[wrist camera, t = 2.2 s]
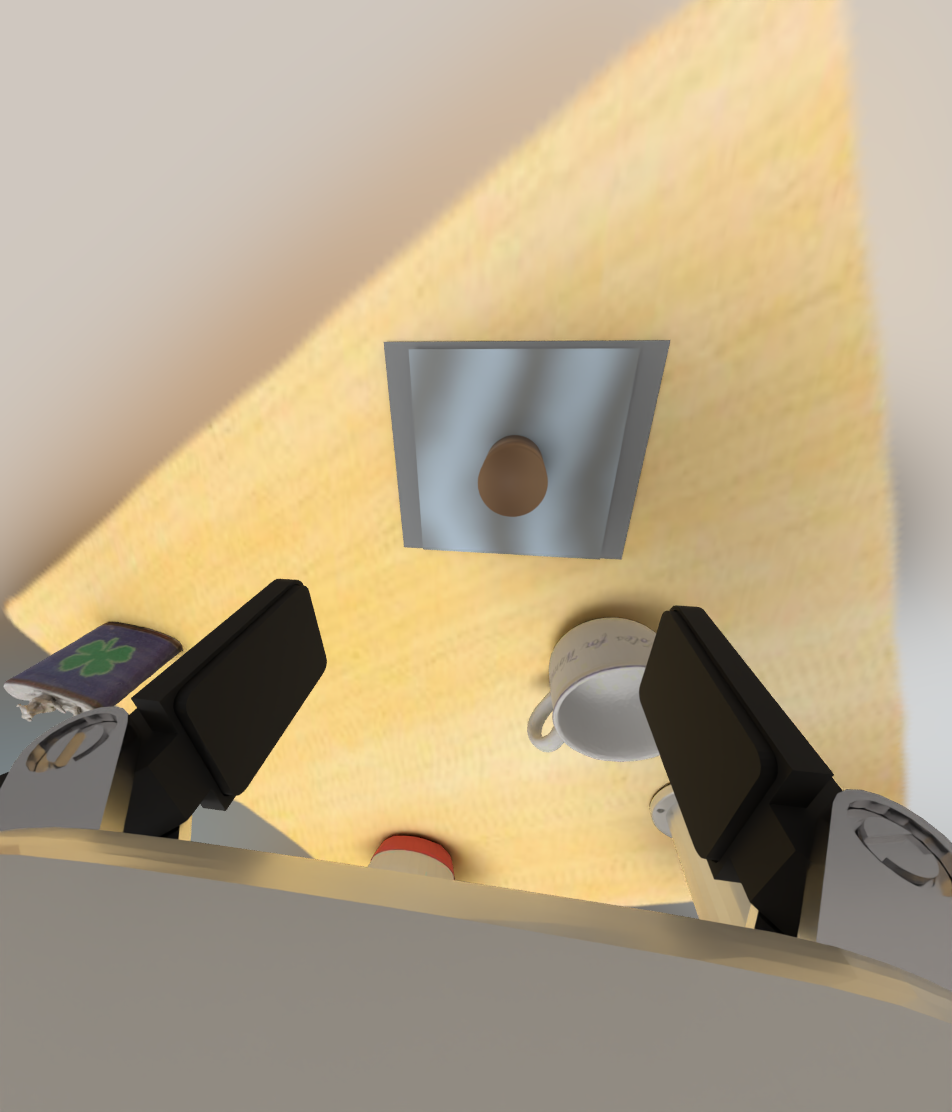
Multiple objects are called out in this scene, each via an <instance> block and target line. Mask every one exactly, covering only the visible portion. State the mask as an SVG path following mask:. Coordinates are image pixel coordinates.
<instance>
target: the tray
mask: <svg viewBox="0 0 952 1112" xmlns="http://www.w3.org/2000/svg"><path fill="white" fill-rule="evenodd" d="M669 344H670V340H645V341H472V342H384V350H385V360H386V370H387V380H388V390H389V400H390V410H391V420H392V430H393V440H394V450H395V460H396V470H397V480H398V490H399V500H400V510H401V520H402V530H403V540H404V547H411V548H423V542H422V528H421V514H420V500H419V487H418V473H417V459H416V445H415V431H414V417H413V404H412V390H411V376H410V362H409V349H618V348H640V352H639V357H638V363H637V368H636V373H635V378H634V384H633V389H632V394H631V399H630V404H629V410H628V415H627V420H626V425H625V431H624V436H623V441H622V446H621V451H620V457H619V462H618V467H617V472H616V478H615V483H614V488H613V493H612V498H611V504H610V509H609V514H608V519H607V525H606V530H605V535H604V540H603V546H602V551H601V556H600V558H605V559H622V554H623V550H624V545H625V541H626V537H627V532H628V528H629V523H630V519H631V514H632V510H633V505H634V501H635V496H636V492H637V487H638V483H639V478H640V474H641V469H642V465H643V460H644V456H645V452H646V447H647V443H648V438H649V434H650V429H651V425H652V420H653V416H654V411H655V407H656V402H657V398H658V393H659V389H660V384H661V380H662V375H663V371H664V367H665V362H666V358H667V353H668V349H669Z"/></svg>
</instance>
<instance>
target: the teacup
mask: <svg viewBox="0 0 952 1112" xmlns="http://www.w3.org/2000/svg"><path fill="white" fill-rule="evenodd" d="M655 636H656V633H655V632H654V631H653V630H651V629H649V628H648V627H646V626H645V625H643V624H640V623H638V622H635V621H632V620H628V619H623V618H601V619H595V620H591V621H588V622H585V623H583V624H580V625H578V626H576V627H575V628H573V629H571V630H570V631H569V632H567V633H566V634H565V635H564V636H563V637H562V638H561V639H560V640H559V641H558V643H557V644H556V646H555V648H554V650H553V652H552V654H551V658H550V663H549V682H550V692H549V693H548V694H547V695H546V696H545V697H544V699H543V700H542V701H541V702H540V703H539V704H538V705H537V707H536V708H535V709H534V711H533V712H532V714H531V716H530V718H529V721H528V727H527V732H528V736H529V739H530V741H531V742H532V744H533V745H534V746H535V747H536V748H538V749H539V750H541V751H543V752H552V751H555V750H556V749H558V748H559V747H561V745H562V744H563V743H566V744H567V745H568V746H569V747H570V748H572V749H573V750H575V751H577V752H579V753H582V754H584V755H586V756H589V757H591V758H594V759H598V760H604V761H617V762H624V761H637V760H643V759H648V758H653V757H656V756H659V755H660V754H659V751H658V749H657V746H656V743H655V741H654V738H653V735H652V732H651V730H650V727H649V724H648V722H647V719H646V716H645V714H644V711H643V708H642V706H641V703H640V699H639V687H640V684H641V680H642V677H643V674H644V671H645V668H646V665H647V661H648V658H649V655H650V652H651V649H652V646H653V643H654V639H655ZM552 711H553V717H552V718H553V724H554V727H553V729H552V730H551V732H550V733H549V734H548V735H546V736H544V737H542V735H541V731H542V726H543V724H544V722H545V720H546V719H547V717H548V716H549V714H550V713H551V712H552Z"/></svg>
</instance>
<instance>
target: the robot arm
mask: <svg viewBox="0 0 952 1112" xmlns="http://www.w3.org/2000/svg"><path fill="white" fill-rule="evenodd" d="M326 664H327V659H326V654H325V651H324V647H323V643H322V639H321V635H320V631H319V628H318V624H317V620H316V616H315V612H314V608H313V605H312V601H311V597H310V593H309V590H308V588H307V587H306V586H304V585H303V583H302V582H301V581H299V580H290V579H276V580H274V581H273V582H271V583H270V584H269V585H268V586H267V587H265V588H264V589H263V590H262V591H260V592H259V593H258V594H257V595H256V596H254V597H253V598H252V599H251V600H250V601H248V602H247V603H246V604H245V605H243V606H242V607H241V608H240V609H239V610H237V611H236V612H235V613H234V614H233V615H231V616H230V617H229V618H228V619H226V620H225V621H224V622H223V623H222V624H220V625H219V626H218V627H217V628H216V629H214V630H213V631H212V632H211V633H209V634H208V635H207V636H206V637H205V638H203V639H202V640H201V641H200V642H199V643H197V644H196V645H195V646H194V647H192V648H191V649H190V650H189V651H188V652H186V653H185V654H184V655H183V656H182V657H180V658H179V659H178V660H177V661H175V662H174V663H173V664H172V665H171V666H169V667H168V668H167V669H166V670H165V671H163V672H162V673H161V674H160V675H158V676H157V677H156V678H155V679H154V680H152V681H151V682H150V683H149V684H148V685H146V686H145V687H144V688H143V689H141V690H140V691H139V692H138V693H137V694H135V695H134V696H133V697H132V698H131V699H132V701H133V702H134V704H135V705H136V707H137V709H135V710H134V711H133V712H132V713H131V714H130V715H129V714H128V713H127V712H126V711H125V710H124V709H123V708H119V707H115V706H111V707H100V708H97V709H93V710H89V711H86V712H83V713H81V714H78V715H76V716H73V717H71V718H69V719H67V720H65V721H63V722H61V723H59V724H58V725H56V726H54V727H52V728H51V729H49V730H48V731H46V732H45V733H43V734H42V735H41V736H39V737H38V738H36V739H35V740H34V741H33V742H32V743H31V744H30V745H28V746H27V747H26V748H25V749H24V750H23V751H22V753H21V754H20V755H19V757H18V758H17V760H16V761H15V762H14V764H13V766H12V768H11V769H10V771H9V772H7V773H5V774H2V775H0V1112H952V843H951V842H950V841H949V840H948V839H947V838H946V837H945V836H944V835H943V834H942V833H941V832H939V831H938V830H937V829H935V828H934V827H933V826H932V825H930V824H929V823H928V822H927V821H925V820H924V819H923V818H921V817H919V816H918V815H916V814H915V813H913V812H912V811H910V810H908V809H907V808H905V807H904V806H902V805H900V804H898V803H896V802H894V801H892V800H889V799H887V798H885V797H883V796H881V795H878V794H874V793H871V792H867V791H864V790H851V789H847V790H845V791H842V790H841V788H840V787H839V786H838V784H837V783H836V782H835V781H834V779H833V778H832V776H833V775H834V774H833V773H832V771H831V770H830V769H829V768H828V766H827V765H826V764H825V763H824V761H823V760H822V759H821V758H820V756H819V755H818V754H817V752H816V751H815V750H814V749H813V747H812V746H811V745H810V744H809V742H808V741H807V740H806V739H805V737H804V736H803V735H802V734H801V732H800V731H799V730H798V728H797V727H796V726H795V725H794V723H793V722H792V721H791V720H790V718H789V717H788V716H787V715H786V713H785V712H784V711H783V710H782V708H781V707H780V706H779V704H778V703H777V702H776V701H775V699H774V698H773V697H772V696H771V694H770V693H769V692H768V691H767V689H766V688H765V687H764V686H763V684H762V683H761V682H760V680H759V679H758V678H757V677H756V675H755V674H754V673H753V672H752V670H751V669H750V668H749V667H748V665H747V664H746V663H745V662H744V660H743V659H742V658H741V657H740V655H739V654H738V653H737V651H736V650H735V649H734V648H733V646H732V645H731V644H730V643H729V641H728V640H727V639H726V638H725V636H724V635H723V634H722V633H721V631H720V630H719V629H718V627H717V626H716V625H715V624H714V622H713V621H712V620H711V619H710V617H709V616H708V615H707V614H706V612H705V611H704V610H703V609H702V608H700V607H690V606H673V607H672V608H671V609H670V611H665V612H664V613H663V615H662V617H661V620H660V624H659V627H658V630H657V633H656V636H655V639H654V643H653V646H652V649H651V652H650V655H649V658H648V661H647V665H646V668H645V671H644V674H643V677H642V680H641V684H640V687H639V699H640V703H641V706H642V708H643V711H644V714H645V716H646V719H647V722H648V724H649V727H650V730H651V732H652V735H653V738H654V741H655V743H656V746H657V749H658V751H659V754H660V757H661V759H662V762H663V765H664V767H665V770H666V773H667V776H668V778H669V781H670V785H668V786H666V787H664V788H663V789H662V790H660V791H659V792H658V793H657V794H656V795H655V796H654V797H653V799H652V801H651V803H650V813H651V817H652V820H653V822H654V824H655V826H656V827H657V828H658V829H659V830H660V831H661V832H662V833H664V834H665V835H667V836H669V837H671V838H673V841H674V845H675V848H676V851H677V854H678V857H679V860H680V863H681V866H682V869H683V872H684V875H685V878H686V881H687V884H688V887H689V890H690V893H691V896H692V899H693V902H694V905H695V908H696V911H697V914H698V917H699V919H695V918H690V917H684V916H678V915H673V914H667V913H661V912H655V911H649V910H642V909H636V908H630V907H623V906H617V905H611V904H604V903H598V902H591V901H585V900H579V899H572V898H566V897H559V896H553V895H547V894H540V893H534V892H527V891H521V890H515V889H508V888H502V887H496V886H489V885H482V884H476V883H469V882H463V881H456V880H449V879H443V878H436V877H430V876H423V875H416V874H410V873H403V872H397V871H390V870H383V869H377V868H370V867H363V866H357V865H350V864H343V863H337V862H330V861H323V860H317V859H310V858H303V857H296V856H289V855H282V854H275V853H268V852H261V851H255V850H247V849H241V848H233V847H227V846H220V845H212V844H206V843H199V842H192V841H190V840H191V823H192V814H193V813H194V811H195V810H196V809H197V807H198V806H199V804H201V806H202V807H203V808H208V809H215V810H223V811H226V810H227V808H228V807H229V805H230V804H231V802H232V801H233V799H234V798H235V796H238V795H240V794H241V793H242V792H244V791H245V789H246V788H247V787H248V785H249V784H250V782H251V781H252V779H253V778H254V776H255V775H256V773H257V772H258V770H259V769H260V767H261V766H262V764H263V763H264V761H265V760H266V758H267V757H268V755H269V754H270V752H271V751H272V749H273V748H274V746H275V745H276V743H277V742H278V740H279V739H280V737H281V736H282V734H283V733H284V731H285V730H286V728H287V727H288V725H289V724H290V722H291V721H292V719H293V718H294V716H295V715H296V713H297V712H298V710H299V709H300V707H301V706H302V704H303V703H304V701H305V700H306V698H307V697H308V695H309V694H310V692H311V691H312V689H313V688H314V686H315V685H316V683H317V682H318V680H319V679H320V677H321V676H322V674H323V673H324V671H325V668H326Z"/></svg>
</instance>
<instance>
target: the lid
mask: <svg viewBox="0 0 952 1112" xmlns="http://www.w3.org/2000/svg"><path fill="white" fill-rule="evenodd" d="M639 352H640V348H618V349H409V362H410V376H411V390H412V404H413V417H414V431H415V445H416V459H417V473H418V487H419V500H420V514H421V528H422V542H423V549H428V550H445V551H463V552H480V553H498V554H515V555H533V556H550V557H568V558H585V559H600V556H601V551H602V546H603V540H604V535H605V530H606V525H607V519H608V514H609V509H610V504H611V498H612V493H613V488H614V483H615V478H616V472H617V467H618V462H619V457H620V451H621V446H622V441H623V436H624V431H625V425H626V420H627V415H628V410H629V404H630V399H631V394H632V389H633V384H634V378H635V373H636V368H637V363H638V357H639Z"/></svg>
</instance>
